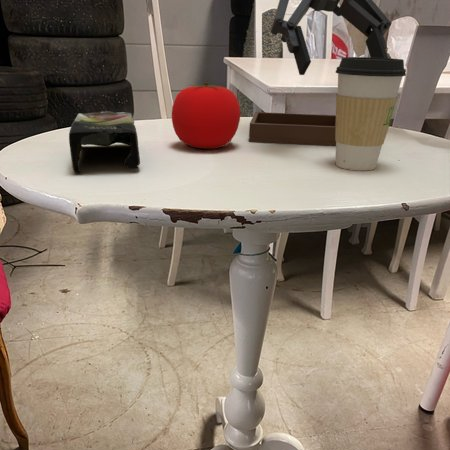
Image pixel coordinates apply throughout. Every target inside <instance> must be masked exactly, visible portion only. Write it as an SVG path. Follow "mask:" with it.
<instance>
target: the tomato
mask: <svg viewBox="0 0 450 450" xmlns="http://www.w3.org/2000/svg"><path fill="white" fill-rule="evenodd" d="M203 83H204V84H203V85H201V84H199V85H198V84H195V85H194V84H193V85H192V84H191V85H189V84H188V85H186V86H188V87H185V88H183V89H181V90H180V91H179V92H178V93H177V95H176V96H175V98H174V101H173V104H172V107H171V122H172V128H173V130H174V134H175V135H176V136H177V138H178V139H179V140H180V141H181V142H182V143H184V144H185V145H187V146H190V147H192V148H196V149H205V150H206V149H207V150H214V149H220V148H222V147H224V146H226V145H227V144H229V143H230V142H231V141H232V140H233V138H234V137H235V136H236V133H237V131H238V129H239V125H240V121H241V115H242V114H241V105H240V103H239V100H238V97H237V96H236V94H235V93H234V92H233V91H232V90H230V89H228V88H227V87H225V86H222V85H216V84H215V85H213V84H209V82H207V81H205V82H203Z"/></svg>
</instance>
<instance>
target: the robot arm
mask: <svg viewBox="0 0 450 450" xmlns="http://www.w3.org/2000/svg"><path fill="white" fill-rule="evenodd" d="M289 1H290V0H279V1H278V4H277V7H276V11H275V14H274V16H273V17H274V18H273V21H272V25H271V28H270V33H271V34H272V35H274V36H277V35H281V36H280V41H281V42H282V43H285V44H286V47H287V50H288V52H289V54H293V56H294V60H295V64H296V68H297V72H298V74H299V76H305V74H306V72H307V71H308V68H309V67H310V65H311V63H312V60H311V56H310V53H309V49H308V46H307V43H306V39H305V36H304V32H303V29H302V26H301V25H299V24H300V22H301V21H302V19H303V18H304V16H306V14H307V13H308V11H309V9H312V10H313V11H314V12H322V11H324V12H327V13H329V12H331V13H333V14H334V15H335V16H337V17H342V18H343V19H345V20H346V21H347V22H348V23H349V24H351V25H352V26H353V27H354V28H355V29H357V30H358V31H359V32H360V33H361V34H363V35H364V36H365V37H366V40H365V45H366V48H367V51H368V54H369V57H371V58H389V57H388V53H387V46H388V45H387V41H386V38H385V36H384V35H385V34H386V33H387V31H388V30H389V29H390V27H391V26H392V22H391V20H390V19H389V18H388V17H387V16H386V14H384V12H383V11H382V10H381V9H380V8H379V6H378V5H377V3H375V2H374V0H342V3H340V1H341V0H301V1H300V3H298V5H297V7H296V8H295V10H294V11H293V12H292V14H291V16H290V17H289V18H288V20H284V19H285V16H286V13H287V8H288V5H289ZM339 4H340V6H338V5H339Z"/></svg>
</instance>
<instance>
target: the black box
mask: <svg viewBox="0 0 450 450" xmlns="http://www.w3.org/2000/svg"><path fill="white" fill-rule="evenodd" d="M68 143H69V151H70V152H69V153H70V157H71V166H72V170H73V172H74V173H75V174H79V173H82V171H80V170H79V161H80V160H81V152H82V151H84V147H83V146H98V147H110V146H112V145H114V144H123V145H126V146H129V147H130V150H129V155H127V156H126V158H125V160H124V161H123V167H126V168H129V169H139V166H140V165H141V157H140V150H139V140H138V132H137V127H136V125H135V118H134V117H133V114H132V112H124V111H122V112H120V111H119V112H113V111H110V110H107V111H100V112H87V113H77V115H76V117H75V118H74V121H73V122H72V124H71V125H70V129H69V133H68Z"/></svg>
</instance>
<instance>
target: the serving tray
mask: <svg viewBox="0 0 450 450" xmlns="http://www.w3.org/2000/svg"><path fill="white" fill-rule="evenodd" d="M335 130H336V114H318V113H317V114H315V113H313V114H312V113H291V112H289V113H287V112H265V111H264V112H263V111H261V112H260V111H254V113H253V115H252V118H251V119H250V122H249V130H248V142H249V143H263V144H264V143H265V144H287V145H304V146H305V145H308V146H326V147H327V146H330V147H331V146H332V147H336V141H335Z"/></svg>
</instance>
